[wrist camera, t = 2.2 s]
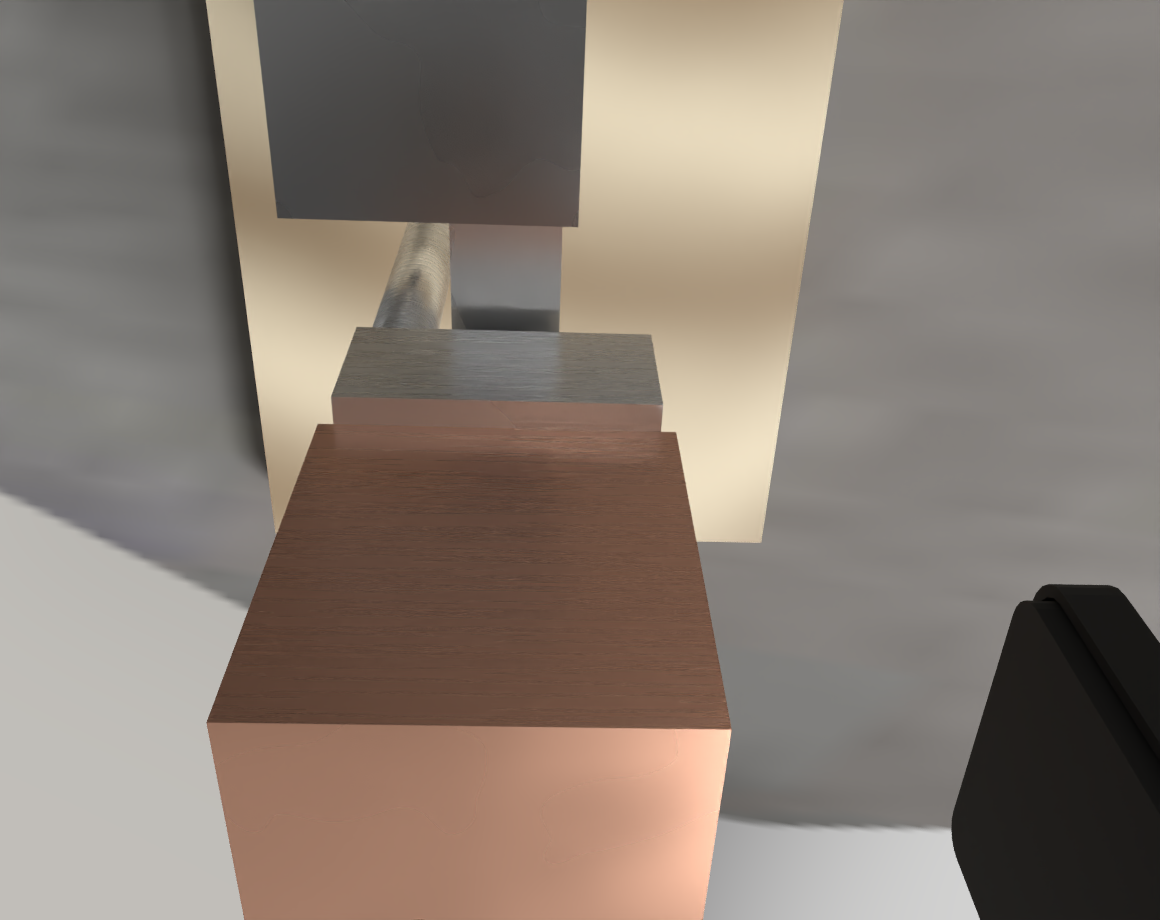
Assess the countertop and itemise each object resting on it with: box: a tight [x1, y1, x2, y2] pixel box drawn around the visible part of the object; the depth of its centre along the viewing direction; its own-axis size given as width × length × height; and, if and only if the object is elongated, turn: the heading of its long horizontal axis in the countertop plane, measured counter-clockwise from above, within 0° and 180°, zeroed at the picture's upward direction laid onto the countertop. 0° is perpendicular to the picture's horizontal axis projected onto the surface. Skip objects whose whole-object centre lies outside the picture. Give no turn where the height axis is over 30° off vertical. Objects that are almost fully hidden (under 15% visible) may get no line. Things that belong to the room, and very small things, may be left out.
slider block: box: [207, 222, 731, 920], centre depth 14 cm, size 3×4×14 cm
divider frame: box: [253, 0, 587, 332], centre depth 17 cm, size 13×3×9 cm, turn 178°
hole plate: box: [206, 0, 844, 543], centre depth 22 cm, size 14×11×2 cm
